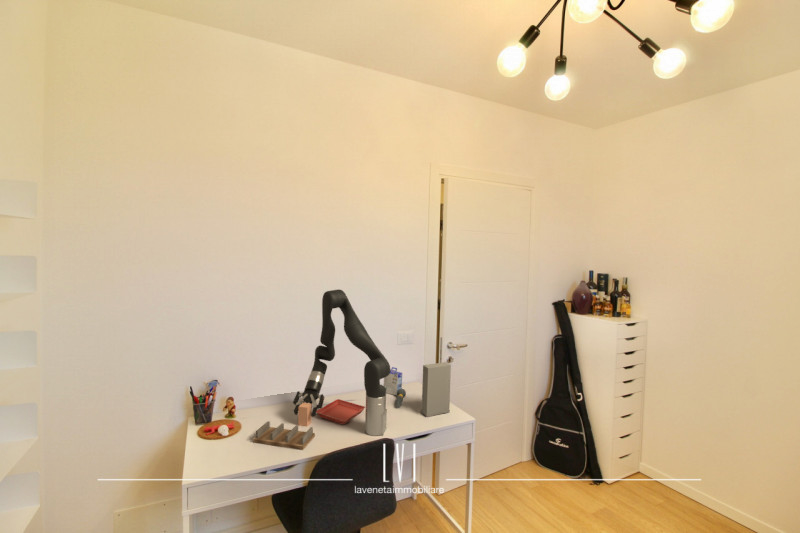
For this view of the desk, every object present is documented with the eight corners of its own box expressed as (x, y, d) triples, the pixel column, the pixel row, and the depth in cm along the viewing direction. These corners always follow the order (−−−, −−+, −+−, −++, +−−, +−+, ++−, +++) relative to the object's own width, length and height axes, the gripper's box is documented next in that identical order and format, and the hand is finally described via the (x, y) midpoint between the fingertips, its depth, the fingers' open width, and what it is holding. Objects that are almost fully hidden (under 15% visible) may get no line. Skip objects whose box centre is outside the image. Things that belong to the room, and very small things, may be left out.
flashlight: (404, 409, 185) (404, 400, 184) (395, 409, 185) (395, 399, 185) (406, 394, 204) (406, 386, 204) (397, 394, 205) (397, 385, 204)
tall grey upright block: (443, 407, 188) (444, 361, 187) (449, 412, 182) (451, 365, 181) (420, 412, 182) (422, 364, 181) (426, 417, 176) (428, 368, 175)
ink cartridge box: (402, 393, 206) (402, 368, 205) (397, 396, 201) (398, 371, 201) (388, 389, 211) (388, 365, 210) (383, 392, 206) (383, 368, 206)
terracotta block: (311, 422, 168) (311, 403, 168) (307, 426, 164) (307, 407, 164) (302, 420, 169) (303, 402, 169) (298, 425, 165) (298, 406, 164)
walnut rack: (314, 436, 155) (314, 426, 155) (303, 450, 145) (303, 439, 144) (267, 429, 160) (268, 420, 160) (253, 442, 149) (253, 432, 149)
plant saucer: (365, 412, 181) (365, 406, 180) (344, 427, 165) (344, 420, 164) (337, 404, 189) (337, 398, 189) (314, 418, 173) (314, 411, 173)
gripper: (299, 377, 175) (287, 410, 164) (326, 380, 172) (315, 414, 161) (304, 384, 180) (292, 416, 169) (330, 387, 177) (320, 420, 166)
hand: (303, 415), depth 165 cm, fingers open, 8 cm apart
